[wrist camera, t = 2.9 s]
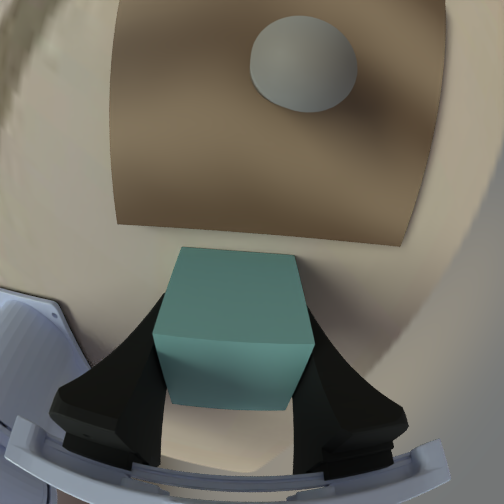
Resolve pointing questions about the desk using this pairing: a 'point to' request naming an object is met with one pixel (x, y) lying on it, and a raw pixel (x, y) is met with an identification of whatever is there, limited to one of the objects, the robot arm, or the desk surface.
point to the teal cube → (233, 330)
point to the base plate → (275, 114)
